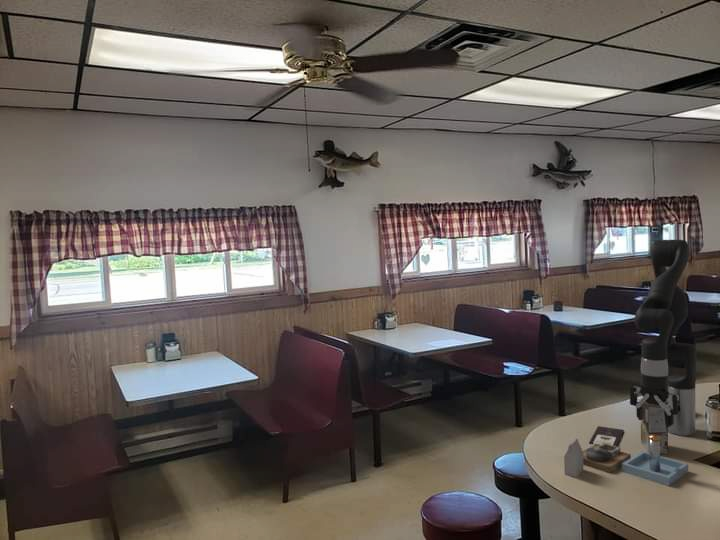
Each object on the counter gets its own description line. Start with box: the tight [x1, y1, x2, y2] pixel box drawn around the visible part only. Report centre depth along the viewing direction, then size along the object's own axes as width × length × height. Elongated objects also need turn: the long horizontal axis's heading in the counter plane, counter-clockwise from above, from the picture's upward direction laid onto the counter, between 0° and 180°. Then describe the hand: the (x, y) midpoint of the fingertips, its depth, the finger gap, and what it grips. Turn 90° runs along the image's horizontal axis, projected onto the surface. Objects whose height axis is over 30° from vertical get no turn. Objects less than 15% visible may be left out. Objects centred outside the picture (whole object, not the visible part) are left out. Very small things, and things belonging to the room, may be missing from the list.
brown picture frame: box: [588, 425, 625, 447], centre depth 203 cm, size 9×1×18 cm
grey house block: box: [563, 438, 584, 478], centre depth 176 cm, size 4×7×10 cm, turn 141°
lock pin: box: [649, 434, 661, 472], centre depth 173 cm, size 3×3×11 cm
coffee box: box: [640, 402, 669, 455], centre depth 191 cm, size 9×6×16 cm
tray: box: [621, 450, 689, 487], centre depth 174 cm, size 14×14×2 cm
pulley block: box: [583, 443, 632, 474], centre depth 183 cm, size 14×12×5 cm
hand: (654, 422), depth 173 cm, fingers open, 8 cm apart
